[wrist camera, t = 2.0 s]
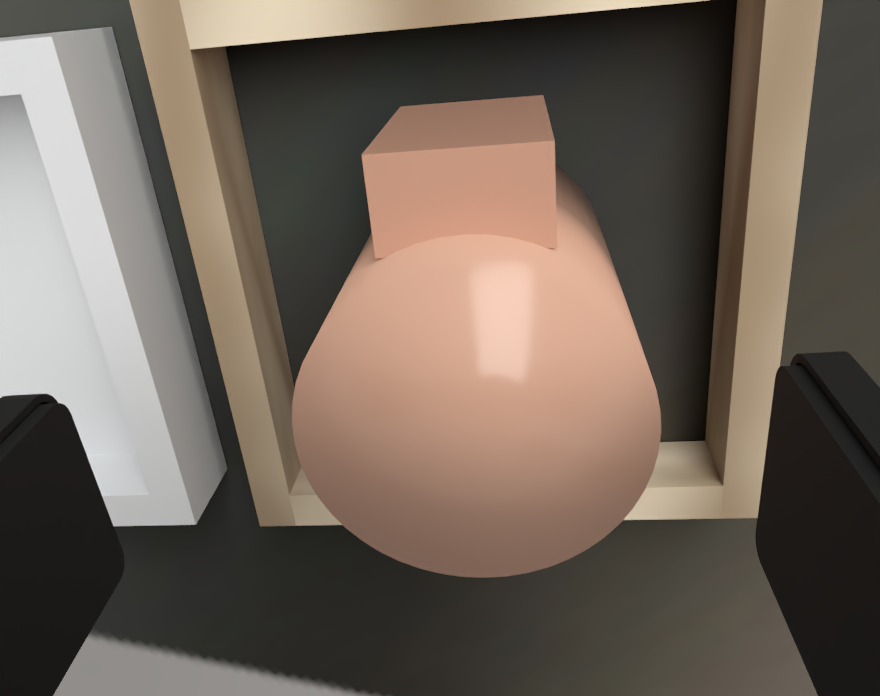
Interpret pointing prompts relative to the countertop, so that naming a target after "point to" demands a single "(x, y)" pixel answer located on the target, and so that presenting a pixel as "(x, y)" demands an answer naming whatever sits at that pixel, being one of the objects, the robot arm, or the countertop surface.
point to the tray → (97, 280)
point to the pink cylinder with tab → (477, 355)
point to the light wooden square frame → (448, 3)
